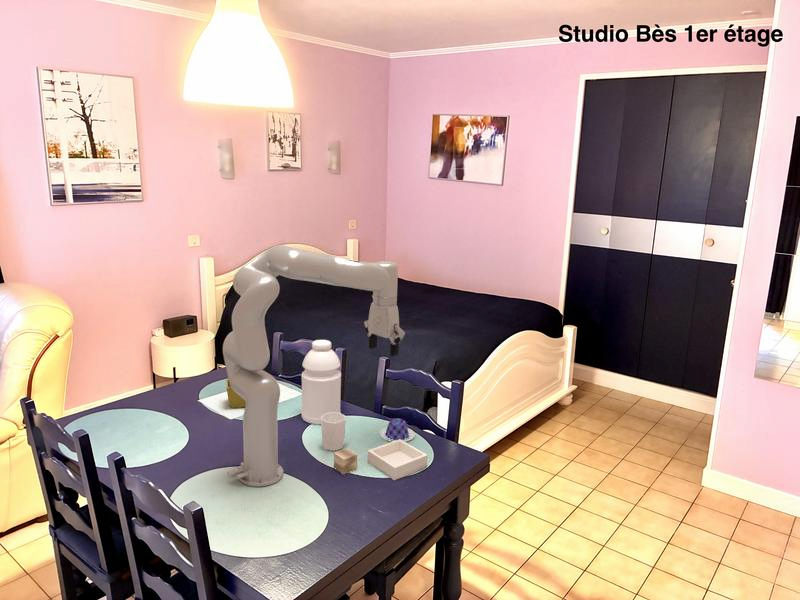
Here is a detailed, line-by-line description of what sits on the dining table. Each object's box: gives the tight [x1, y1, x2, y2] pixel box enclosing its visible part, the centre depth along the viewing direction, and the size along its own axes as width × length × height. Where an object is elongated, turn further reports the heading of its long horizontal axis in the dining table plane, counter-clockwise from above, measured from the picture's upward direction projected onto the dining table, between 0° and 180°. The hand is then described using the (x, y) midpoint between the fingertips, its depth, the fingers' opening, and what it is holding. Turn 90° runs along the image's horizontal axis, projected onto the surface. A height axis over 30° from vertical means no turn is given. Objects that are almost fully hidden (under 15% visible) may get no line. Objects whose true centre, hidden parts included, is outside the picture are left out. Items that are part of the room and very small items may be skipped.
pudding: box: [379, 417, 416, 442], centre depth 200 cm, size 12×12×5 cm
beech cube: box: [333, 447, 358, 475], centre depth 177 cm, size 5×5×5 cm
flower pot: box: [225, 378, 246, 409], centre depth 219 cm, size 9×9×9 cm
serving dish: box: [366, 439, 429, 481], centre depth 181 cm, size 13×13×4 cm
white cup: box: [320, 412, 347, 452], centre depth 190 cm, size 8×8×10 cm
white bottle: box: [301, 339, 342, 425], centre depth 209 cm, size 14×14×28 cm
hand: (383, 351), depth 192 cm, fingers open, 9 cm apart
